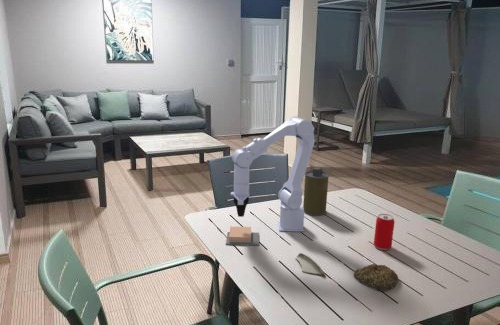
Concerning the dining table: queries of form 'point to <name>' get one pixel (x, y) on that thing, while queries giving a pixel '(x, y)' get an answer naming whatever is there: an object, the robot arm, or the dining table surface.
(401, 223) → the dining table surface
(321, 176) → the canister
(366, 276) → the mossy rock
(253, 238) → the mat
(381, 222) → the beverage can
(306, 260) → the ceramic fragment
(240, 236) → the peach green flat block
